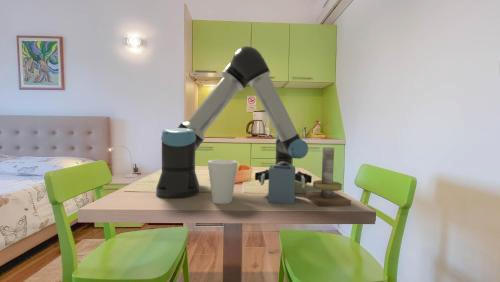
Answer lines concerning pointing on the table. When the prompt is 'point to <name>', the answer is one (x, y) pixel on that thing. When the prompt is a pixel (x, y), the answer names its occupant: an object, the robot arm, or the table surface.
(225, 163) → the foam cup
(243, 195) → the table surface
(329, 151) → the post stand
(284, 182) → the sleeve
